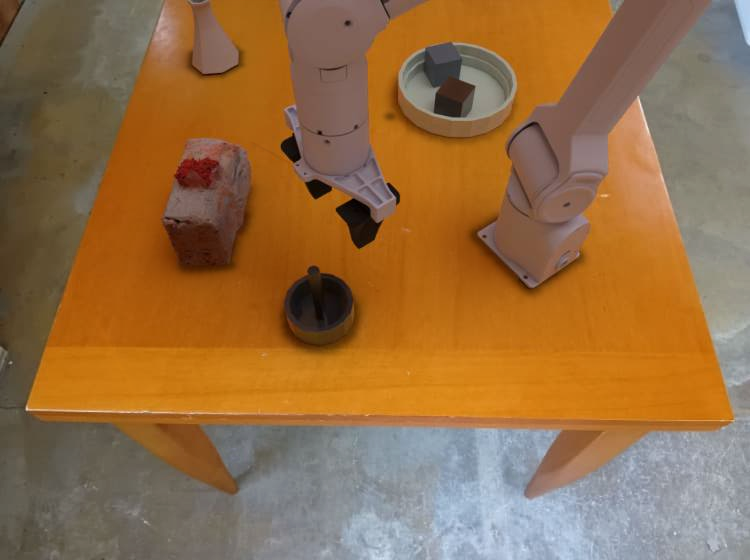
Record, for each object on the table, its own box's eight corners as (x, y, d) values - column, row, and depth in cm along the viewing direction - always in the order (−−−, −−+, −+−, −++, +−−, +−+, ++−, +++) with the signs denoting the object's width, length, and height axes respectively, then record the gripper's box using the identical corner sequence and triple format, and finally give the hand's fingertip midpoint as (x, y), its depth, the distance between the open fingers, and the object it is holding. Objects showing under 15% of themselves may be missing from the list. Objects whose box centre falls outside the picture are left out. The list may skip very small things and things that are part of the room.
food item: (197, 179, 73) (174, 120, 65) (259, 180, 73) (243, 121, 65) (174, 267, 66) (145, 214, 58) (243, 269, 66) (223, 216, 58)
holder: (367, 323, 62) (366, 308, 59) (311, 359, 60) (307, 345, 57) (330, 278, 65) (328, 261, 62) (276, 310, 63) (271, 294, 60)
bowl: (535, 108, 80) (541, 88, 77) (446, 157, 75) (449, 138, 72) (461, 49, 87) (464, 28, 84) (375, 91, 82) (375, 70, 79)
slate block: (459, 82, 82) (462, 58, 79) (433, 88, 82) (435, 64, 78) (448, 65, 84) (451, 41, 81) (423, 70, 84) (425, 47, 80)
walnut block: (471, 109, 79) (475, 85, 76) (459, 126, 78) (462, 103, 74) (446, 99, 81) (449, 75, 77) (432, 116, 79) (435, 92, 75)
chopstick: (328, 317, 62) (321, 272, 54) (318, 321, 62) (310, 277, 54) (324, 308, 63) (316, 263, 55) (314, 313, 62) (305, 268, 55)
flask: (186, 52, 87) (165, -11, 79) (231, 39, 89) (216, -24, 80) (199, 80, 84) (179, 18, 75) (246, 67, 85) (231, 4, 77)
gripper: (244, 82, 47) (271, 190, 59) (343, 189, 41) (351, 287, 53) (315, 50, 50) (328, 160, 61) (419, 147, 43) (411, 250, 55)
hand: (342, 217), depth 57 cm, fingers open, 7 cm apart
